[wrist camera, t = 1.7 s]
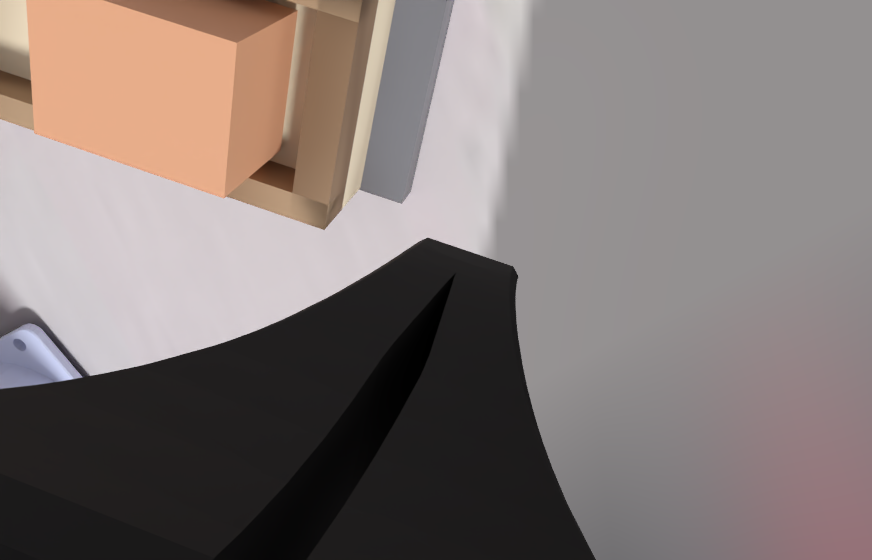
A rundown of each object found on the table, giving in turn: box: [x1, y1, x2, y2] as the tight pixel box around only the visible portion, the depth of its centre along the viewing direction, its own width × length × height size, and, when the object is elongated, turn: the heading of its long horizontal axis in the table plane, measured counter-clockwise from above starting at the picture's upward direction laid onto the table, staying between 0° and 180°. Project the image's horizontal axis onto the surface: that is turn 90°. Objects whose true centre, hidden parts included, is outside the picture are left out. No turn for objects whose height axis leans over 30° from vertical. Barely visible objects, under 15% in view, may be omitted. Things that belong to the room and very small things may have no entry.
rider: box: [26, 0, 298, 198], centre depth 16 cm, size 4×3×2 cm
